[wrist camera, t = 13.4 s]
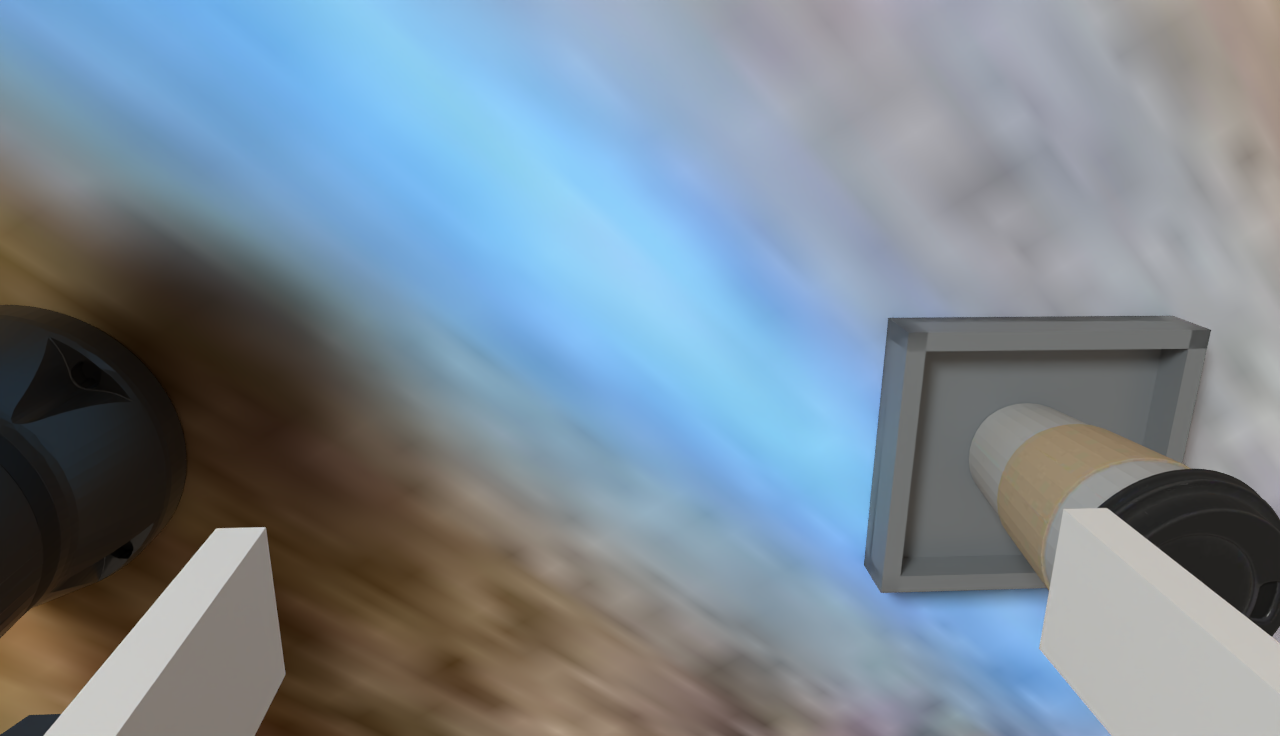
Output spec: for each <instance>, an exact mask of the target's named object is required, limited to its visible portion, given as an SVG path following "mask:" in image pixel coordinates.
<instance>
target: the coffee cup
mask: <svg viewBox="0 0 1280 736" xmlns="http://www.w3.org/2000/svg"><path fill="white" fill-rule="evenodd" d="M969 468H970V472H971V475H972V478H973V480H974V482H975V483H976V485H977V486H978V488H979V489H980V490H981V492H982V493H983V495H984V496H985V497H986V499H987V500H988V502H989V503H990V504H991V506H992V507H993V509H994V510H995V511H996V513H997V514H998V516H999V517H1000V520H1001V523H1002V525H1003V527H1004V528H1005V530H1006V531H1007V533H1008V535H1009V536H1010V537H1011V539H1012V540H1013V541H1014V543H1015V544H1016V546H1017V547H1018V548H1019V550H1020V551H1021V553H1022V554H1023V555H1024V557H1025V558H1026V560H1027V561H1028V562H1029V564H1030V565H1031V566H1032V568H1033V569H1034V571H1035V572H1036V573H1037V575H1038V576H1039V578H1040V579H1041V580H1042V582H1043V583H1044V585H1045V586H1046V587H1047V589H1048V590H1049V589H1050V583H1051V578H1052V572H1053V566H1054V560H1055V554H1056V549H1057V543H1058V537H1059V531H1060V526H1061V520H1062V514H1063V509H1082V508H1108V509H1109V510H1110V511H1112V512H1113V513H1114V514H1115V515H1117V516H1118V517H1119V518H1120V519H1122V520H1123V521H1124V522H1126V523H1127V524H1128V525H1129V526H1131V527H1132V528H1133V529H1135V530H1136V531H1137V532H1138V533H1140V534H1141V535H1142V536H1143V537H1145V538H1146V539H1147V540H1149V541H1150V542H1151V543H1152V544H1154V545H1155V546H1156V547H1157V548H1159V549H1160V550H1161V551H1163V552H1164V553H1165V554H1166V555H1168V556H1169V557H1170V558H1172V559H1173V560H1174V561H1175V562H1177V563H1178V564H1179V565H1180V566H1182V567H1183V568H1184V569H1186V570H1187V571H1188V572H1189V573H1191V574H1192V575H1193V576H1195V577H1196V578H1197V579H1198V580H1200V581H1201V582H1202V583H1203V584H1205V585H1206V586H1207V587H1209V588H1210V589H1211V590H1212V591H1214V592H1215V593H1216V594H1218V595H1219V596H1220V597H1221V598H1223V599H1224V600H1225V601H1226V602H1228V603H1229V604H1230V605H1232V606H1233V607H1234V608H1235V609H1237V610H1238V611H1239V612H1241V613H1242V614H1243V615H1244V616H1246V617H1247V618H1248V619H1249V620H1251V621H1252V622H1253V623H1255V624H1256V625H1257V626H1258V627H1260V628H1261V629H1262V630H1264V631H1265V632H1266V633H1267V634H1269V635H1270V636H1271V637H1272V636H1273V635H1274V633H1275V632H1276V631H1277V629H1278V628H1279V626H1280V519H1279V518H1278V516H1277V514H1276V513H1275V511H1274V510H1273V509H1272V508H1271V506H1270V505H1269V504H1268V503H1267V502H1266V501H1265V500H1263V499H1262V498H1261V497H1260V496H1259V495H1258V494H1257V493H1256V492H1255V491H1254V490H1253V489H1252V488H1251V487H1249V486H1248V485H1247V484H1245V483H1244V482H1242V481H1240V480H1238V479H1236V478H1234V477H1232V476H1230V475H1227V474H1224V473H1220V472H1217V471H1212V470H1205V469H1191V468H1189V467H1187V466H1185V465H1183V464H1182V463H1180V462H1177V461H1175V460H1173V459H1171V458H1168V457H1166V456H1164V455H1162V454H1160V453H1157V452H1155V451H1153V450H1151V449H1148V448H1146V447H1144V446H1142V445H1140V444H1137V443H1135V442H1133V441H1131V440H1128V439H1126V438H1124V437H1122V436H1120V435H1117V434H1115V433H1113V432H1111V431H1108V430H1106V429H1103V428H1100V427H1096V426H1093V425H1088V424H1086V423H1083V422H1081V421H1079V420H1077V419H1075V418H1072V417H1070V416H1068V415H1066V414H1063V413H1061V412H1059V411H1057V410H1054V409H1052V408H1050V407H1047V406H1043V405H1040V404H1033V403H1021V404H1014V405H1010V406H1006V407H1004V408H1002V409H999V410H997V411H996V412H994V413H993V414H991V415H990V416H988V417H987V418H986V419H985V420H984V421H983V422H982V424H981V425H980V427H979V428H978V430H977V431H976V433H975V435H974V437H973V440H972V443H971V447H970V450H969Z"/></svg>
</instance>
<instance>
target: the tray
mask: <svg viewBox="0 0 1280 736" xmlns="http://www.w3.org/2000/svg"><path fill="white" fill-rule="evenodd" d="M1210 332H1211V330H1210V329H1207V328H1204V327H1201V326H1199V325H1196V324H1193V323H1191V322H1188V321H1185V320H1183V319H1180V318H1177V317H1175V316H1088V317H953V318H888V328H887V338H886V348H885V358H884V368H883V378H882V388H881V398H880V409H879V419H878V429H877V439H876V449H875V459H874V469H873V479H872V490H871V500H870V510H869V520H868V530H867V540H866V550H865V560H864V566H865V567H866V569H867V571H868V572H869V574H870V576H871V577H872V579H873V581H874V582H875V584H876V585H877V587H878V589H879V590H880V592H881V593H892V592H926V591H960V590H994V589H1029V588H1047V587H1046V586H1045V585H1044V583H1043V582H1042V580H1041V579H1040V578H1039V576H1038V575H1037V573H1036V572H1035V571H1034V569H1033V568H1032V566H1031V565H1030V564H1029V562H1028V561H1027V560H1026V558H1025V557H1024V555H1023V554H1022V553H1021V551H1020V550H1019V548H1018V547H1017V546H1016V544H1015V543H1014V541H1013V540H1012V539H1011V537H1010V536H1009V535H1008V533H1007V531H1006V530H1005V528H1004V527H1003V525H1002V523H1001V520H1000V517H999V516H998V514H997V513H996V511H995V510H994V509H993V507H992V506H991V504H990V503H989V502H988V500H987V499H986V497H985V496H984V495H983V493H982V492H981V490H980V489H979V488H978V486H977V485H976V483H975V482H974V480H973V478H972V475H971V472H970V468H969V450H970V447H971V443H972V440H973V437H974V435H975V433H976V431H977V430H978V428H979V427H980V425H981V424H982V422H983V421H984V420H985V419H986V418H987V417H988V416H990V415H991V414H993V413H994V412H996V411H997V410H999V409H1002V408H1004V407H1006V406H1010V405H1014V404H1021V403H1033V404H1040V405H1043V406H1047V407H1050V408H1052V409H1054V410H1057V411H1059V412H1061V413H1063V414H1066V415H1068V416H1070V417H1072V418H1075V419H1077V420H1079V421H1081V422H1083V423H1086V424H1088V425H1093V426H1096V427H1100V428H1103V429H1106V430H1108V431H1111V432H1113V433H1115V434H1117V435H1120V436H1122V437H1124V438H1126V439H1128V440H1131V441H1133V442H1135V443H1137V444H1140V445H1142V446H1144V447H1146V448H1148V449H1151V450H1153V451H1155V452H1157V453H1160V454H1162V455H1164V456H1166V457H1168V458H1171V459H1173V460H1175V461H1177V462H1180V463H1182V462H1183V457H1184V453H1185V448H1186V443H1187V439H1188V434H1189V429H1190V425H1191V420H1192V415H1193V411H1194V406H1195V401H1196V397H1197V392H1198V387H1199V383H1200V378H1201V374H1202V369H1203V364H1204V360H1205V355H1206V350H1207V346H1208V341H1209V336H1210Z"/></svg>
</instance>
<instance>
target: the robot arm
mask: <svg viewBox="0 0 1280 736" xmlns="http://www.w3.org/2000/svg"><path fill="white" fill-rule="evenodd" d="M186 465H187V460H186V447H185V440H184V435H183V431H182V428H181V424H180V421H179V419H178V416H177V413H176V411H175V409H174V407H173V405H172V403H171V401H170V399H169V397H168V395H167V394H166V392H165V391H164V389H163V388H162V386H161V384H160V383H159V382H158V380H157V379H156V378H155V376H154V375H153V374H152V373H151V372H150V371H149V369H148V368H147V367H146V366H145V365H144V364H143V363H142V362H141V361H140V360H139V359H138V358H137V357H136V356H135V355H134V354H133V353H131V352H130V351H129V350H128V349H127V348H125V347H124V346H123V345H122V344H120V343H119V342H118V341H116V340H115V339H113V338H112V337H110V336H109V335H107V334H105V333H104V332H102V331H100V330H99V329H97V328H95V327H93V326H91V325H89V324H87V323H85V322H82V321H80V320H78V319H75V318H73V317H70V316H67V315H64V314H61V313H58V312H54V311H50V310H46V309H42V308H36V307H30V306H19V305H0V638H1V637H2V636H3V635H4V634H5V633H6V632H7V631H8V630H9V629H10V628H11V627H12V626H13V625H14V624H15V623H16V622H17V621H18V620H19V619H20V618H21V617H22V616H23V615H24V614H25V613H26V612H27V611H29V610H30V609H31V608H33V607H35V606H38V605H40V604H43V603H45V602H48V601H50V600H53V599H55V598H58V597H61V596H63V595H66V594H68V593H71V592H73V591H76V590H78V589H81V588H83V587H86V586H88V585H91V584H93V583H95V582H98V581H100V580H102V579H104V578H106V577H108V576H110V575H112V574H113V573H115V572H116V571H118V570H120V569H121V568H123V567H124V566H125V565H127V564H128V563H129V562H131V561H132V560H133V559H134V558H135V557H136V556H138V555H139V554H140V553H141V552H142V551H143V550H144V548H145V547H146V546H147V545H148V544H149V543H150V542H151V541H152V540H153V539H154V538H155V537H156V536H157V535H158V534H159V533H160V532H161V531H162V529H163V528H164V527H165V526H166V524H167V523H168V521H169V520H170V518H171V517H172V515H173V513H174V511H175V510H176V508H177V505H178V503H179V501H180V498H181V495H182V492H183V488H184V483H185V477H186ZM1039 649H1040V650H1041V651H1042V653H1043V654H1044V655H1045V656H1046V657H1047V659H1048V660H1049V661H1050V662H1051V663H1052V665H1053V666H1054V667H1055V668H1056V669H1057V671H1058V672H1059V673H1060V674H1061V675H1062V677H1063V678H1064V679H1065V680H1066V681H1067V683H1068V684H1069V685H1070V686H1071V687H1072V689H1073V690H1074V691H1075V692H1076V693H1077V695H1078V696H1079V697H1080V698H1081V699H1082V701H1083V702H1084V703H1085V704H1086V706H1087V707H1088V708H1089V709H1090V710H1091V712H1092V713H1093V714H1094V715H1095V716H1096V718H1097V719H1098V720H1099V721H1100V722H1101V724H1102V725H1103V726H1104V727H1105V728H1106V730H1107V731H1108V732H1109V733H1110V734H1111V736H1280V643H1279V642H1278V641H1276V640H1275V639H1274V638H1272V637H1271V636H1270V635H1269V634H1267V633H1266V632H1265V631H1264V630H1262V629H1261V628H1260V627H1258V626H1257V625H1256V624H1255V623H1253V622H1252V621H1251V620H1249V619H1248V618H1247V617H1246V616H1244V615H1243V614H1242V613H1241V612H1239V611H1238V610H1237V609H1235V608H1234V607H1233V606H1232V605H1230V604H1229V603H1228V602H1226V601H1225V600H1224V599H1223V598H1221V597H1220V596H1219V595H1218V594H1216V593H1215V592H1214V591H1212V590H1211V589H1210V588H1209V587H1207V586H1206V585H1205V584H1203V583H1202V582H1201V581H1200V580H1198V579H1197V578H1196V577H1195V576H1193V575H1192V574H1191V573H1189V572H1188V571H1187V570H1186V569H1184V568H1183V567H1182V566H1180V565H1179V564H1178V563H1177V562H1175V561H1174V560H1173V559H1172V558H1170V557H1169V556H1168V555H1166V554H1165V553H1164V552H1163V551H1161V550H1160V549H1159V548H1157V547H1156V546H1155V545H1154V544H1152V543H1151V542H1150V541H1149V540H1147V539H1146V538H1145V537H1143V536H1142V535H1141V534H1140V533H1138V532H1137V531H1136V530H1135V529H1133V528H1132V527H1131V526H1129V525H1128V524H1127V523H1126V522H1124V521H1123V520H1122V519H1120V518H1119V517H1118V516H1117V515H1115V514H1114V513H1113V512H1112V511H1110V510H1109V509H1108V508H1082V509H1063V514H1062V520H1061V526H1060V531H1059V537H1058V543H1057V549H1056V554H1055V560H1054V566H1053V572H1052V578H1051V583H1050V589H1049V595H1048V601H1047V606H1046V612H1045V618H1044V624H1043V629H1042V635H1041V641H1040V647H1039ZM285 675H286V673H285V666H284V658H283V651H282V643H281V636H280V628H279V621H278V613H277V606H276V598H275V591H274V583H273V576H272V568H271V561H270V553H269V546H268V538H267V531H266V527H252V528H216V529H215V530H214V532H213V533H212V534H211V535H210V536H209V538H208V539H207V540H206V541H205V542H204V544H203V545H202V546H201V547H200V548H199V550H198V551H197V552H196V553H195V554H194V556H193V557H192V558H191V559H190V560H189V562H188V563H187V564H186V565H185V566H184V568H183V569H182V570H181V571H180V572H179V574H178V575H177V576H176V577H175V578H174V580H173V581H172V582H171V583H170V584H169V586H168V587H167V588H166V589H165V590H164V592H163V593H162V594H161V595H160V596H159V598H158V599H157V600H156V601H155V602H154V604H153V605H152V606H151V607H150V608H149V610H148V611H147V612H146V613H145V614H144V616H143V617H142V618H141V619H140V620H139V622H138V623H137V624H136V625H135V626H134V628H133V629H132V630H131V631H130V632H129V634H128V635H127V636H126V637H125V638H124V640H123V641H122V642H121V643H120V644H119V646H118V647H117V648H116V649H115V650H114V652H113V653H112V654H111V655H110V656H109V658H108V659H107V660H106V661H105V662H104V664H103V665H102V666H101V667H100V668H99V670H98V671H97V672H96V673H95V674H94V676H93V677H92V678H91V679H90V680H89V682H88V683H87V684H86V685H85V686H84V688H83V689H82V690H81V691H80V692H79V694H78V695H77V696H76V697H75V698H74V700H73V701H72V702H71V703H70V704H69V706H68V707H67V708H66V709H65V710H64V712H63V713H62V714H51V715H29V716H27V717H26V718H24V719H23V720H22V721H20V722H19V723H17V724H16V725H14V726H13V727H11V728H10V729H8V730H7V731H5V732H4V733H2V734H1V735H0V736H255V734H256V732H257V730H258V728H259V726H260V724H261V722H262V720H263V718H264V716H265V714H266V712H267V710H268V708H269V706H270V704H271V702H272V700H273V698H274V696H275V694H276V692H277V690H278V689H279V687H280V685H281V683H282V681H283V679H284V677H285Z"/></svg>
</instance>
